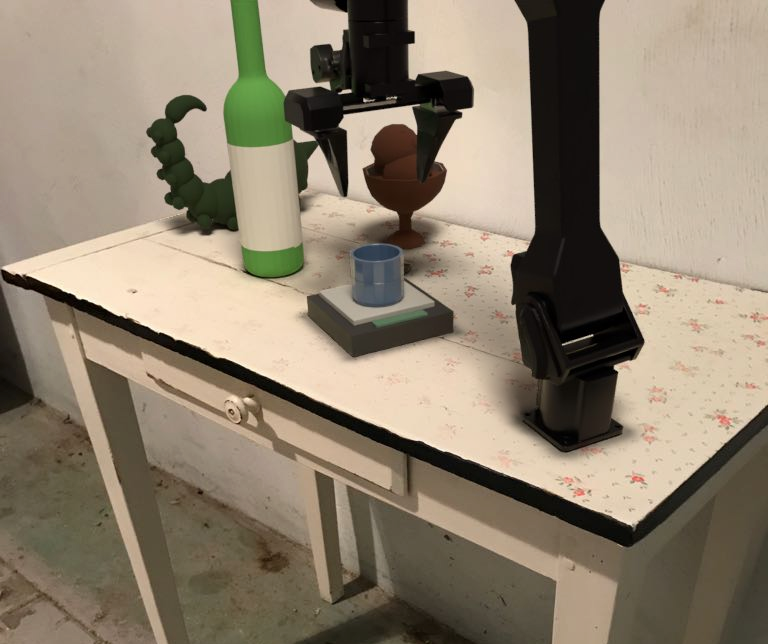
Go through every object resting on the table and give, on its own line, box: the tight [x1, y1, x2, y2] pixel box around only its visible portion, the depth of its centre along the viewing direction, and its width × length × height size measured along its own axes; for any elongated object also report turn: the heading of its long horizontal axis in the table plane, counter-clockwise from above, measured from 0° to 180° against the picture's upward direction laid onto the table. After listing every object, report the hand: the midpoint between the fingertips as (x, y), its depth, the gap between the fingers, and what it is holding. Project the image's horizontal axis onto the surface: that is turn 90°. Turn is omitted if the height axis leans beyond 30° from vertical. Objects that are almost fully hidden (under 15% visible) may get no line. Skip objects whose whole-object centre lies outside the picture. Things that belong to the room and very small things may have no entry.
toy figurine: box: [145, 94, 320, 231], centre depth 116 cm, size 9×19×25 cm
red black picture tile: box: [404, 260, 412, 274], centre depth 104 cm, size 5×5×1 cm
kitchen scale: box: [306, 277, 455, 358], centre depth 90 cm, size 12×12×3 cm
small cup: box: [349, 242, 405, 307], centre depth 87 cm, size 6×6×5 cm
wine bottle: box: [222, 0, 305, 278], centre depth 96 cm, size 8×8×30 cm
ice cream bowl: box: [362, 123, 448, 250], centre depth 107 cm, size 11×11×15 cm
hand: (383, 189), depth 87 cm, fingers open, 9 cm apart
